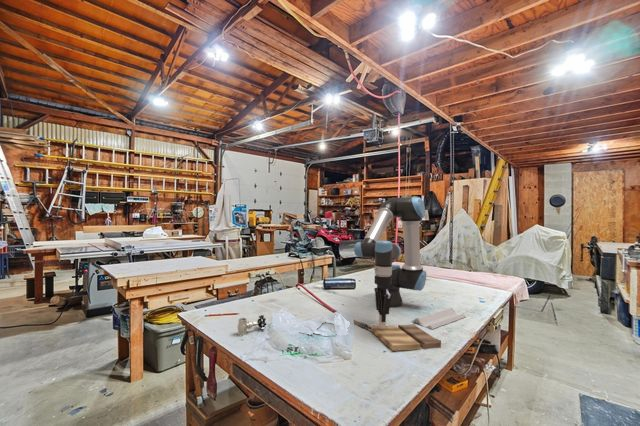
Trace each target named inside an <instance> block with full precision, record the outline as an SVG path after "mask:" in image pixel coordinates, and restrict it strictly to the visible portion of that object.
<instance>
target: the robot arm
mask: <svg viewBox="0 0 640 426" xmlns="http://www.w3.org/2000/svg"><path fill="white" fill-rule="evenodd" d="M425 216H426V205H425V203H424V201H423V198H421V197H416V196H411V197H409V196H407V197H394V198H389V199H388V200H386V201H385V202H384V203H382V204H381V206H380V207H379V208H378V210H377V211H376V217H375V218H374V220H373V222H372V224H371V226H370V227H369V230H368V231H367V233H366V235H365V236H364V239H362V241H357V242H355V244H354V247H353V249H354V250H353V252H354V255H355V256H357V257H359V258H365V259H374V268H373V269H374V274H375V275H374V284H375V285H376V287H374V288H373V289H374V293H375V294H374V295H375V307H376V311H378V312H377V313H378V326H379V329H386V326H387V324H386V323H387V321H386V319H387V315H389V314H390V308H399V307H402V305H403V299H402V295H401V292H400V289H404V290H412V291H419V292H421V291H422V290H423V289H424V288H425V285H426V282H427V271H426V270H424V267H423V266H422V264H421V250H420V249H421V247H420V245H421V244H420V242H421V241H420V240H421V239H420V223H422V221H423V219H424V218H425ZM394 218H400V222H401V223H402V224H403V246H404V247H403V248H404V250H403V251H404V252H403V253H404V264H403V265H402V266H400V265H398V264H393V260H394V261H395V260H397V259H398V258H399V257H400V256H401V255H402V249H401V247H400V246H399V245H398V244H396V243H392V241H391V240H381V239H382V237H383V234H384V232H385V231H386V229H387V227H388V225H389V224H390V221H392V220H393V219H394Z"/></svg>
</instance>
